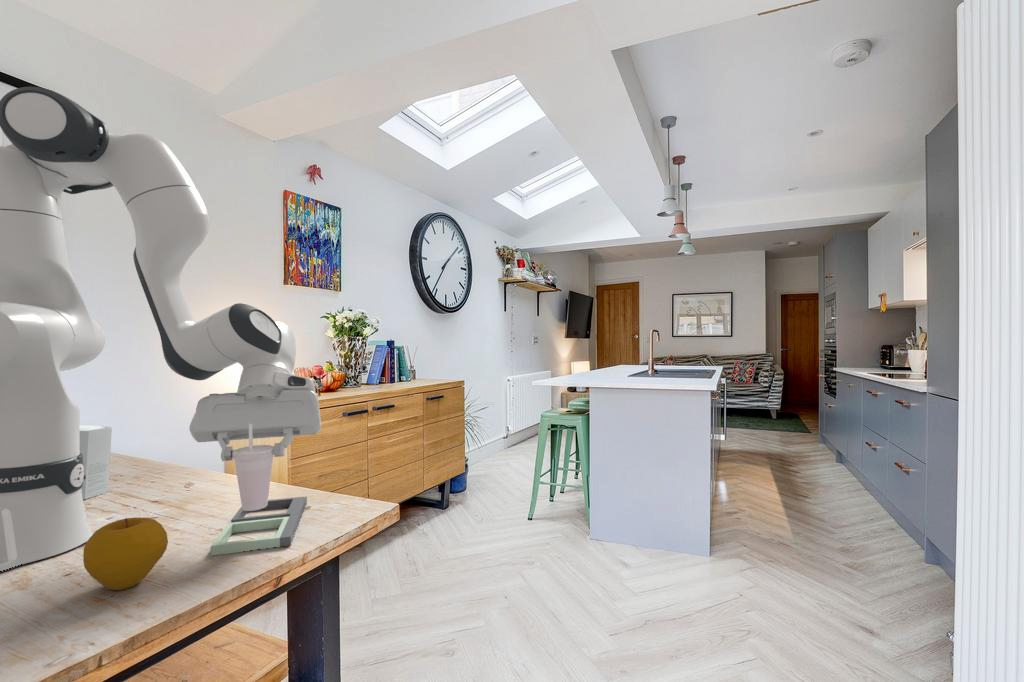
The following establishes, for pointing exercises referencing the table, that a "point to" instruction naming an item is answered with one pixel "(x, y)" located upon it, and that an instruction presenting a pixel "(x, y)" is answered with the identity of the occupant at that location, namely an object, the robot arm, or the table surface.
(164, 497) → the table surface
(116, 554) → the apple
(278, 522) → the rail
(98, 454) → the skincare box
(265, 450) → the smoothie
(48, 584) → the table surface
